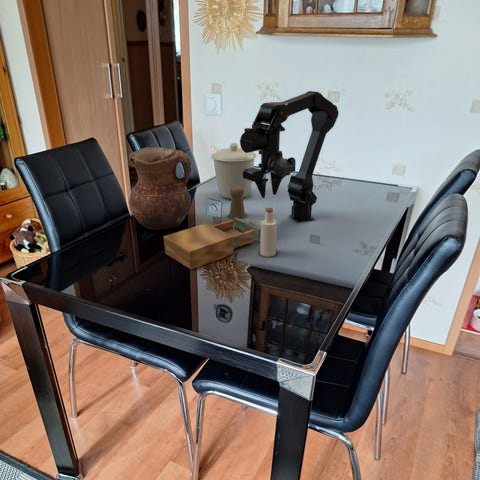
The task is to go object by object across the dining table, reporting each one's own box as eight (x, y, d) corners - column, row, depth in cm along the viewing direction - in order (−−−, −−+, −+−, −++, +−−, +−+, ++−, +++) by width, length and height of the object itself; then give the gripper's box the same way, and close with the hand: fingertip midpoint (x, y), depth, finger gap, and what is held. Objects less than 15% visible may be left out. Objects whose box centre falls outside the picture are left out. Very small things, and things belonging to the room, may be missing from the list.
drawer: (245, 225, 153) (245, 214, 151) (270, 236, 145) (271, 225, 143) (200, 240, 143) (199, 228, 141) (224, 253, 135) (224, 241, 132)
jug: (142, 239, 147) (130, 163, 132) (125, 219, 162) (113, 149, 148) (202, 227, 155) (197, 154, 141) (181, 209, 170) (174, 142, 156)
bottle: (267, 248, 140) (269, 204, 131) (279, 253, 137) (281, 208, 128) (256, 253, 137) (257, 208, 129) (268, 258, 134) (269, 213, 126)
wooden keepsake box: (207, 239, 146) (206, 223, 142) (233, 253, 137) (233, 236, 133) (165, 253, 137) (163, 236, 134) (190, 269, 128) (189, 251, 125)
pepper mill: (243, 219, 161) (243, 189, 154) (227, 218, 162) (226, 189, 155) (246, 213, 166) (246, 184, 159) (231, 212, 167) (230, 184, 160)
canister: (263, 193, 185) (264, 141, 174) (241, 205, 173) (240, 150, 161) (228, 186, 194) (227, 136, 182) (204, 197, 181) (201, 144, 169)
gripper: (265, 157, 127) (264, 209, 135) (309, 147, 136) (305, 196, 145) (241, 150, 134) (241, 200, 143) (284, 141, 143) (282, 188, 152)
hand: (268, 196), depth 145 cm, fingers open, 5 cm apart
